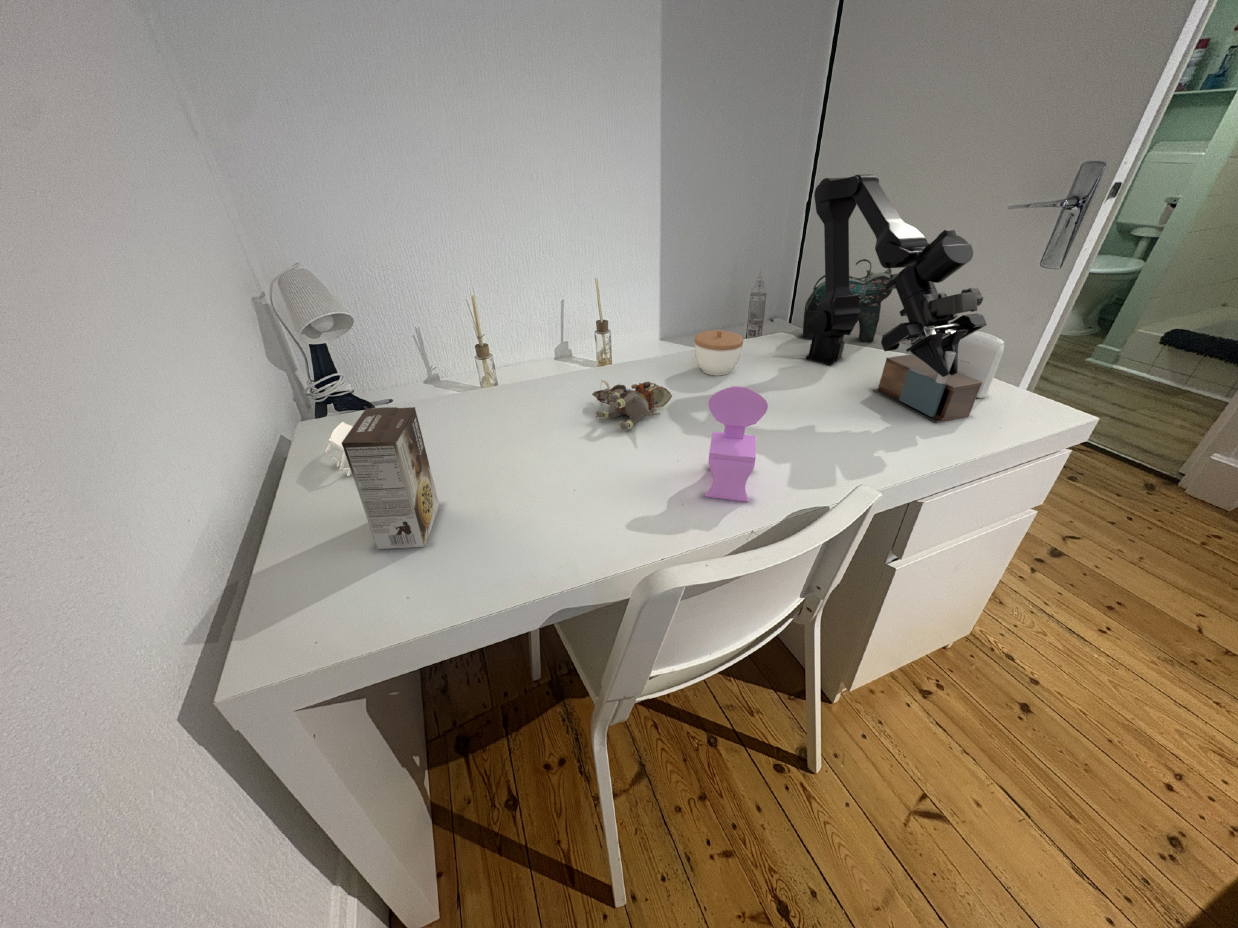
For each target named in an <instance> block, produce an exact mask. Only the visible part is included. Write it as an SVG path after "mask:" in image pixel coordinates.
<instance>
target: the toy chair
mask: <svg viewBox="0 0 1238 928" xmlns="http://www.w3.org/2000/svg"><path fill="white" fill-rule="evenodd" d="M707 405H708V409H709V411H710V413H711V415H712V416H713V417H714V420H715V421H716V422H718V423H720V424H722V425H724V429H723V430H724V431H723V432H720V431H712V432H711V439H710V445H709V450H708V451H709V452H708V461H707V462H708V468H709V470H710V473H711V478H712V480H711V481H712V482H711V485H710V487H709V489H708V490H707V492H706V493H705V494H704V496H705V497H706V498H712V499H713V498H714V499H722V500H731V501H736V502H737V501H738V502H749V501H750V500H749V496H748V495H747V491H746V484H747V481H748V479H749V478H750V476H751V474H752V472H753V470H754V468H755V464H756V457H757V454H756V451H757V449H756V441H757V440H756V439H757V438H756V437H757V436H756V435H752V434H745V430H746V428H747V427H750V426H754V425H756V424H757V423H758V422H759V421H760V420H761V419H762V418H763V417H764V416H765V415H766V413H767V412H768V408H769V406H768V402H767V400H766V399H765V398H764V397H763V396H762V395H761V394H760V393H758V392H756V391H755V390H754V389H751V388H749V387H746V386H741V385H740V386H739V385H738V386H737V385H736V386H735V385H734V386H730V387H729V386H728V387H726V388H723V389H721V390H719V391H717V392H714V394H712V395H711V397H709V399H708V402H707Z"/></svg>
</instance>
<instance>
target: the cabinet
mask: <svg viewBox="0 0 1238 928" xmlns="http://www.w3.org/2000/svg"><path fill="white" fill-rule="evenodd" d="M908 369H913V370H916V371H918V372H920V373H923V374H925V375H927V376H929V377H932V378H934V379H936V378H937V375H938V373H937V372H936V371H935V370H934V369H932V368H931V367H930V366H929V365H927V364H926V363H925V362H924V361H922V360H921V359H919V358H918V357H917V356H915V355H914V354H912V353H909V354H903V355H897V356H890V357H886V358H885V363H884V366H883V369H882V373H881V376H880V379H879V384H878V387H877V388H873V389H872V391H873V392H875V393H877V394H879V395H881V396H882V397H884V398H886V399H888V400H890V401H893V402H894V403H896V404H897V405H900V406H901V407H903V408H905V409H908V410H909V411H911V412H912V413H915V414H916V415H919V416H921V417H923V418H925V419H927V420H928V421H930V422H932V423H934V424H939V423H942V422H948V421H952V420H957V419H963V418H968V417H970V415H971V413H972V410H973V407H974V405H975V401H976V400H977V398H978V397H977V395H978V392H979V390H980V387H981V385H982V382H981V381H979V380H976V379H974V378H971V377H969V376H966V375H964V374H961V373H959V372H957V374H955V375H950V374H949V375H948V377H947V380H946V382H945V384H946V386H945V389H944V392H943V395H942V397H941V400H940V403H939V406H938V409H937V411H936V414H935V416H934V417H931V416H929V415H927V414H925V413H923V412H921V411H919V410H917V409H915V408H913V407H911V406H909V405H907V404H905V403H903V402H901V401H899V398H900V395H901V392H902V389H903V385H904V382H905V379H906V376H907V372H908Z"/></svg>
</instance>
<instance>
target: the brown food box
mask: <svg viewBox="0 0 1238 928" xmlns="http://www.w3.org/2000/svg"><path fill="white" fill-rule="evenodd" d="M352 426H353V427H352V429H351V430H350V432H349V433H348V434H347V436H346V437H345V439H344V440H343V442H342V443H341V444H342V446H343V449H344V452H345V455H346V456H345V458H346V460H347V463H348V466H349V468H350V469H351V475H352V477H353V481H354V484H355V487H356V490H357V493H358V495H359V498H360V501H361V504H362V507H363V510H364V514H365V516H366V519H367V522H368V525H369V528H370V532H371V533H372V537H373V540H374V543H375V546H376V549H377V550H389V549H406V548H407V549H409V548H410V549H411V548H424V547H426V546H427V543H428V539H429V538H430V534H431V531H432V528H433V526H434V523H435V520H436V517H437V514H438V511H439V509H440V503H439V498H438V494H437V491H436V487H435V482H434V479H433V475H432V474H433V473H432V471H431V465H430V461H429V458H428V454H427V450H426V445H425V442H424V437H423V433H422V430H421V425H420V422H419V418H418V413H417V411H416V406H413V407H411V406H409V407H390V406H387V407H385V406H383V407H369V408H365V409H364V410H363V412H362V413H361V414H360V416H359V418H358V419H357V420H356V422H355V423H354V425H352Z"/></svg>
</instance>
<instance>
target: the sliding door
mask: <svg viewBox="0 0 1238 928" xmlns="http://www.w3.org/2000/svg"><path fill="white" fill-rule="evenodd" d="M955 354H956V353H955V352H952V351H946V352H945V355H944V357H945V361H946V364H947V367H948V372H949V371H950V368H951V366H952V363H953V360H954V357H955ZM947 377H948V375H947V376H945V377H942V376H941V375H940V374H938V375H937V378H936V379H934V378H932V377H929V376H927V375H925V374H923V373H920V372H918V371H916V370H913V369H908V372H907V376H906V379H905V382H904V385H903V389H902V392H901V395H900V398H899V401H901V402H903V403H905V404H907V405H909V406H911V407H913V408H915V409H917V410H919V411H921V412H923V413H925V414H927V415H929V416H931V417H934V416H935V414H936V411H937V409H938V406H939V403H940V400H941V397H942V395H943V392H944V389H945V386H946V384H945V382H946V380H947Z"/></svg>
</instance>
